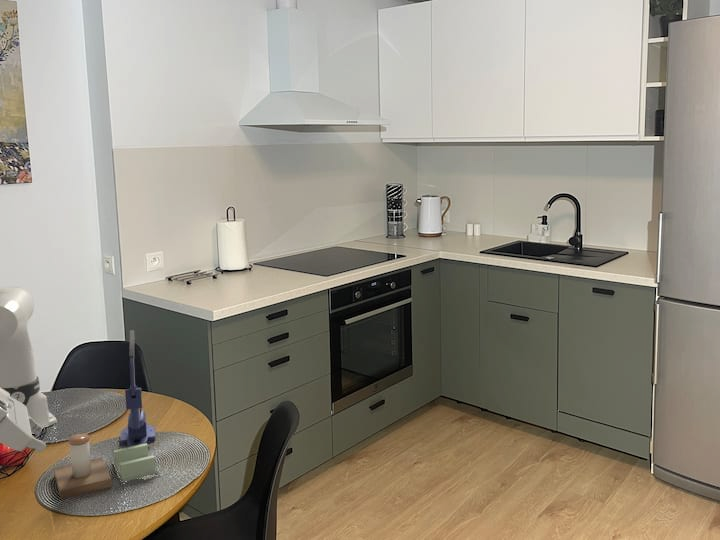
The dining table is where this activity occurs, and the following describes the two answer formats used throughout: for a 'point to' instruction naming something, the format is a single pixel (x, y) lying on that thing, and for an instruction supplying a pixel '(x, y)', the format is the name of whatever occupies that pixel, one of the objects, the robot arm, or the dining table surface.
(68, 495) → the board
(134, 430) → the hand press
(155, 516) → the dining table surface
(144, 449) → the rack
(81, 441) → the mushroom
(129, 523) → the dining table surface
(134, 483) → the mat
